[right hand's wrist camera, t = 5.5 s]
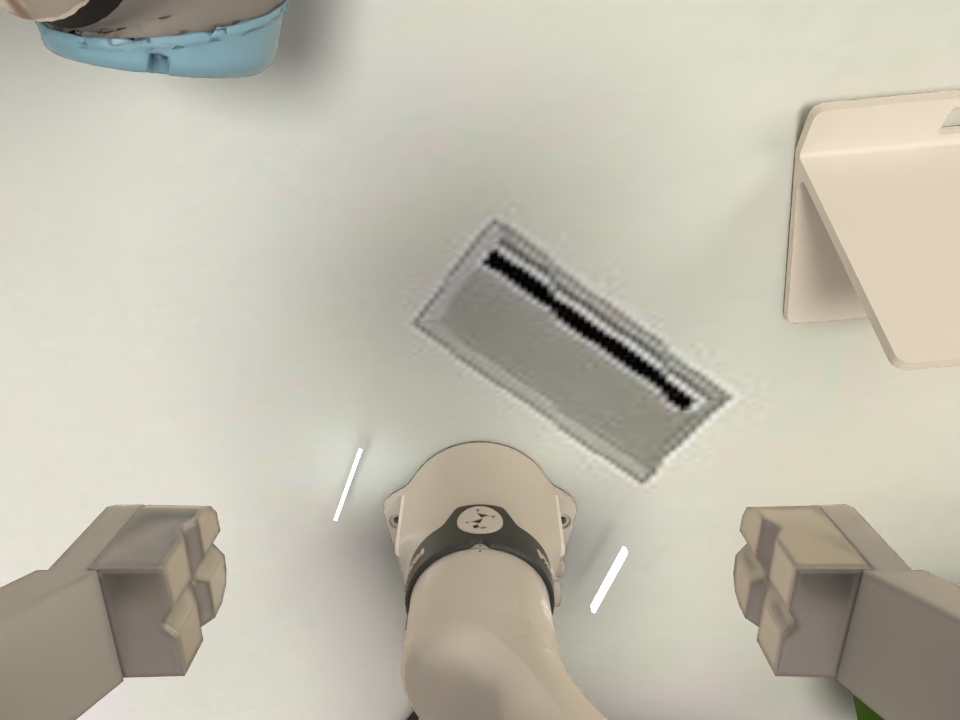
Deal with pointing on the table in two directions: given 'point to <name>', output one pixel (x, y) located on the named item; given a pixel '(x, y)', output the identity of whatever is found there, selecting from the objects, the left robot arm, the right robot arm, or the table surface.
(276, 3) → the left robot arm
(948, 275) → the tablet stand
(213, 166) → the table surface
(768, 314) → the table surface
